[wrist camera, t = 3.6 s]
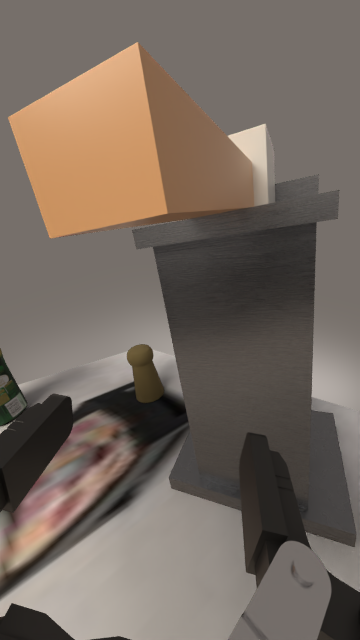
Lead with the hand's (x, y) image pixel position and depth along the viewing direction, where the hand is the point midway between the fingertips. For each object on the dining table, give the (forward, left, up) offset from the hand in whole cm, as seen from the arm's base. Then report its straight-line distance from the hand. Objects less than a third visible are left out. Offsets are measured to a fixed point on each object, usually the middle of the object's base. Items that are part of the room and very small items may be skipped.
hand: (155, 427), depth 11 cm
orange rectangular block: (+1, +11, +8) cm, 14 cm away
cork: (-22, +28, -24) cm, 43 cm away
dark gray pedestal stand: (+1, +19, -24) cm, 30 cm away
